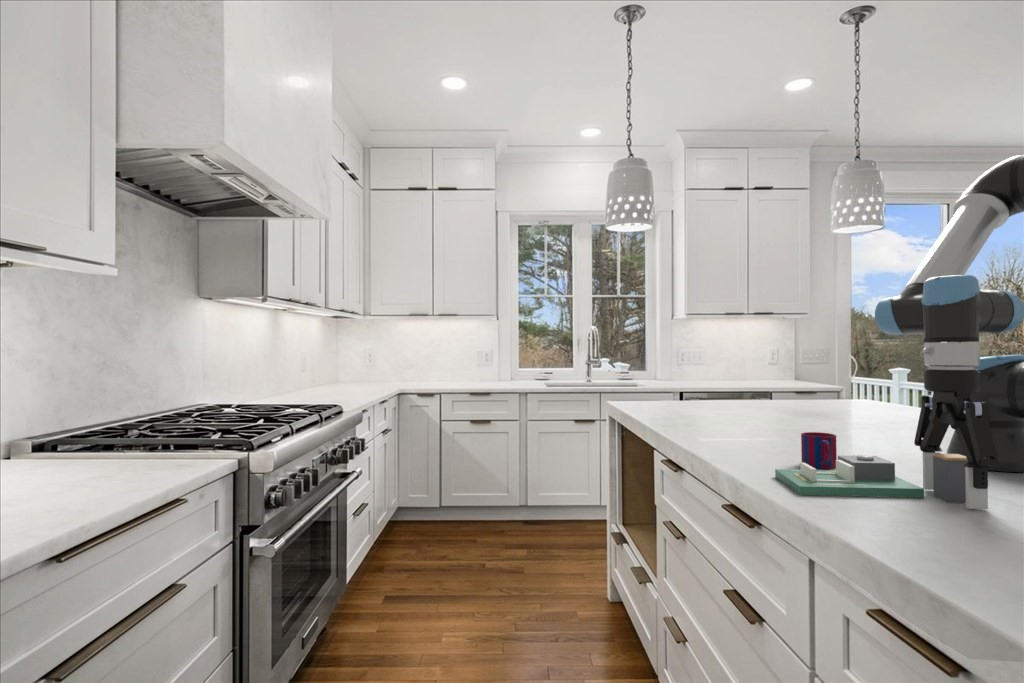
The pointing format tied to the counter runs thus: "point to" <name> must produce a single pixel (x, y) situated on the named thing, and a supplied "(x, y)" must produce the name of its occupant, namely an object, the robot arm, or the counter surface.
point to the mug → (819, 450)
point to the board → (843, 483)
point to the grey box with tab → (870, 467)
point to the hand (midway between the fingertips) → (953, 498)
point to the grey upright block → (949, 477)
